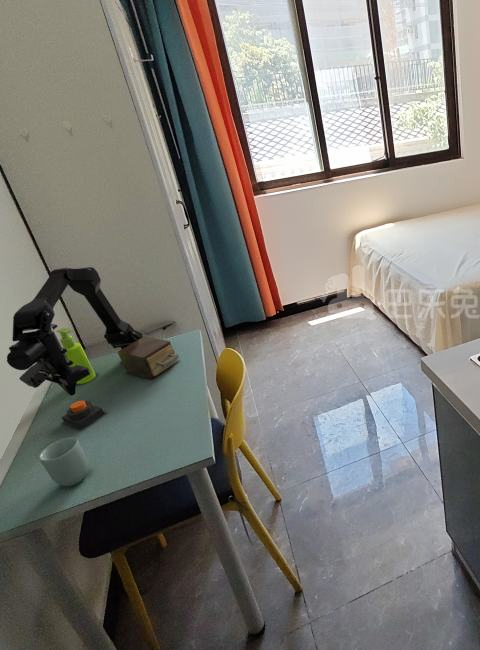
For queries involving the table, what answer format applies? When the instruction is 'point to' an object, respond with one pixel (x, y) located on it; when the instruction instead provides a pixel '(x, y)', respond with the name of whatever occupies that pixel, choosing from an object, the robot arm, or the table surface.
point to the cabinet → (141, 355)
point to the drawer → (162, 360)
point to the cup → (65, 461)
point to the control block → (83, 415)
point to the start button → (78, 406)
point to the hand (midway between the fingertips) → (72, 394)
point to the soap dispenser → (75, 354)
